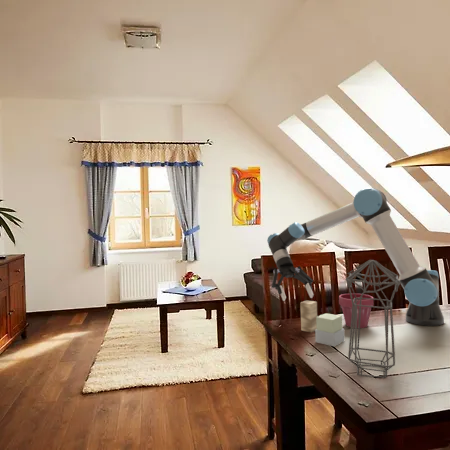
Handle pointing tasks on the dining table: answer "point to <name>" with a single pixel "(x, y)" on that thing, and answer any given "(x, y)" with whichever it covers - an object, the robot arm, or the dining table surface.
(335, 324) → the tower top
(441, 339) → the dining table surface
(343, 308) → the plant pot
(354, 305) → the geometric lantern
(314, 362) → the dining table surface
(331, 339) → the tower base
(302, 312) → the pillar
